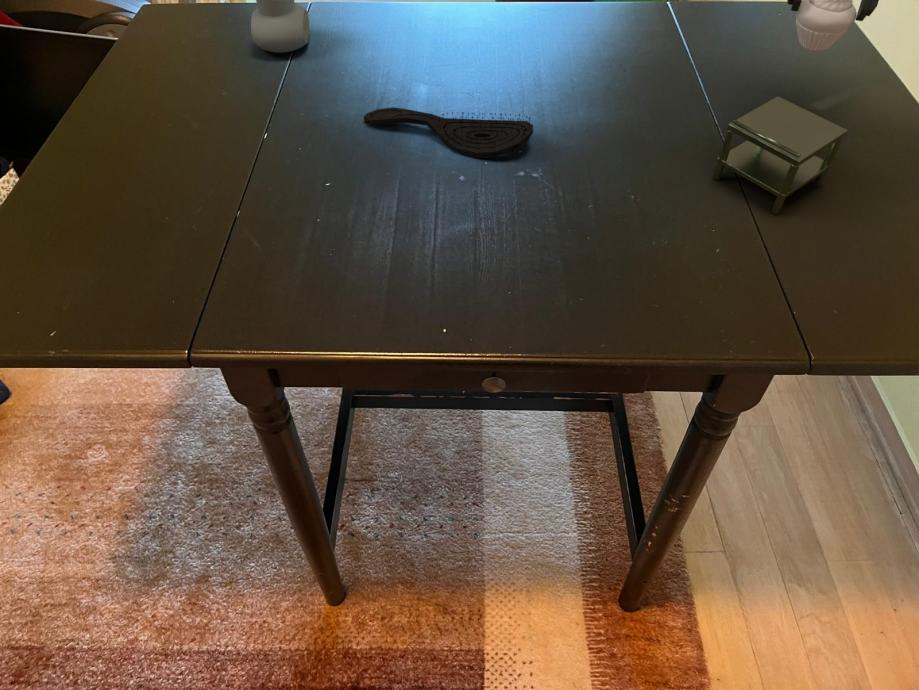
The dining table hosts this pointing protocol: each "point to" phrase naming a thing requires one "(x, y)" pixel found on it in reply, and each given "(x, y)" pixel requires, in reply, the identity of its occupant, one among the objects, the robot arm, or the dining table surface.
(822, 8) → the muffin
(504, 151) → the hairbrush
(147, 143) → the dining table surface
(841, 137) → the side table
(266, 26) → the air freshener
